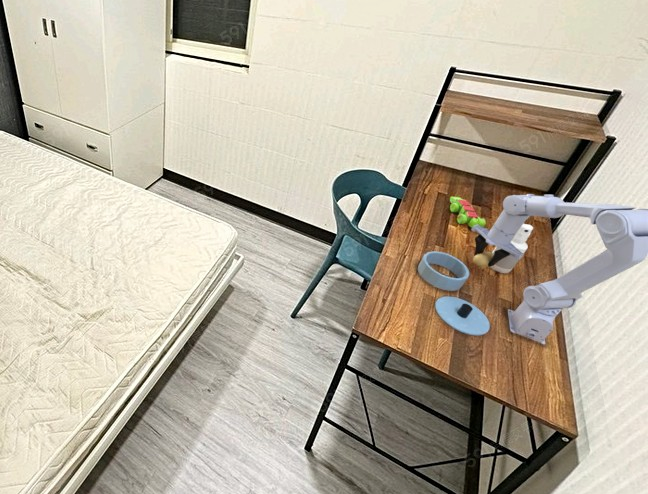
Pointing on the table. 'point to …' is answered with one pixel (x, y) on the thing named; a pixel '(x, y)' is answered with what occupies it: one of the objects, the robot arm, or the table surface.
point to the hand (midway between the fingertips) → (483, 260)
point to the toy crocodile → (465, 212)
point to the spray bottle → (519, 242)
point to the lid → (462, 316)
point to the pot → (439, 279)
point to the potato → (483, 259)
